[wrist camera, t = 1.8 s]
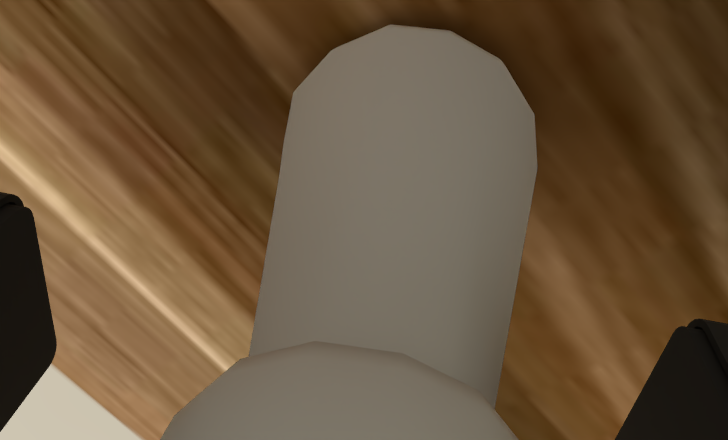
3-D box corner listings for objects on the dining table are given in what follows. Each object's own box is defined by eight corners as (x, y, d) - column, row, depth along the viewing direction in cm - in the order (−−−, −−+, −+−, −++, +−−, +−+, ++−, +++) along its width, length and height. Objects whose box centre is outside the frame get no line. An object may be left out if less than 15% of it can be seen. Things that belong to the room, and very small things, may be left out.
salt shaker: (263, 82, 17) (-130, 573, 6) (449, -52, 14) (382, 348, 3) (390, 240, 19) (278, 820, 8) (569, 146, 16) (771, 790, 5)
